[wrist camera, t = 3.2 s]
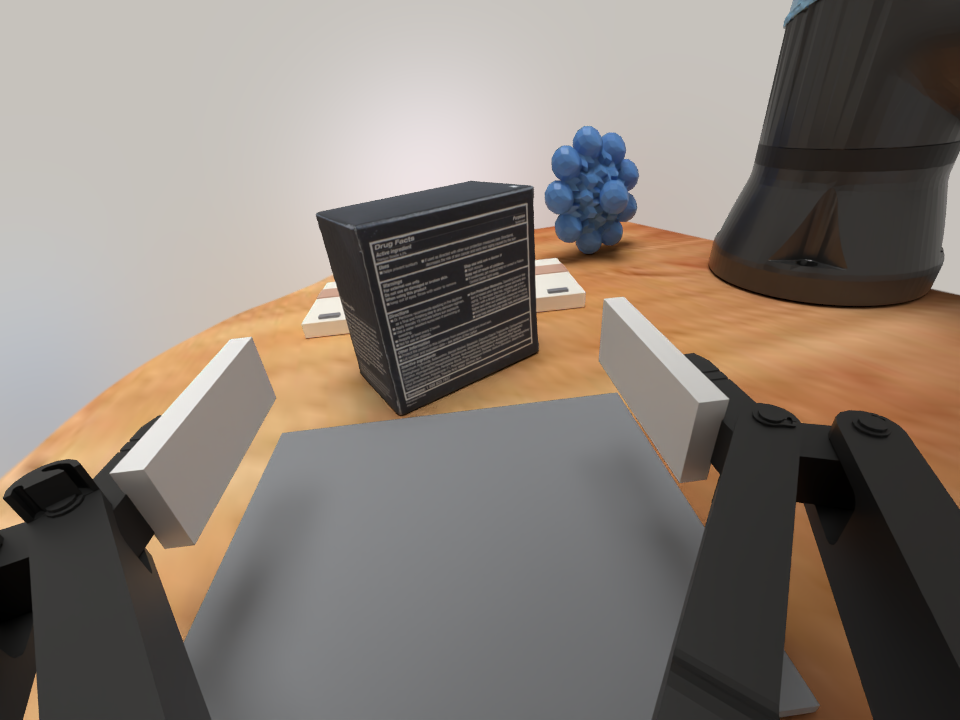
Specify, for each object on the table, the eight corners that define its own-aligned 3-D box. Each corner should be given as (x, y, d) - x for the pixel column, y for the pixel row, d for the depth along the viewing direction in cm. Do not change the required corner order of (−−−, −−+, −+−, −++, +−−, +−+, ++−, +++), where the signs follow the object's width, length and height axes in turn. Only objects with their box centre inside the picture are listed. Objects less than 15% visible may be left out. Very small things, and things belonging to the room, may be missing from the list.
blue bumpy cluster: (575, 277, 39) (580, 131, 33) (531, 260, 44) (529, 131, 38) (661, 250, 44) (681, 117, 37) (613, 238, 49) (623, 119, 42)
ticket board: (556, 269, 41) (556, 255, 40) (584, 306, 33) (585, 290, 33) (330, 294, 40) (326, 280, 39) (305, 338, 32) (300, 321, 32)
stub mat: (616, 398, 23) (617, 392, 23) (815, 712, 11) (820, 705, 11) (284, 438, 22) (282, 433, 22) (110, 821, 10) (101, 816, 10)
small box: (485, 321, 33) (473, 176, 27) (542, 352, 28) (542, 184, 22) (356, 372, 28) (310, 206, 22) (399, 420, 23) (355, 225, 18)
